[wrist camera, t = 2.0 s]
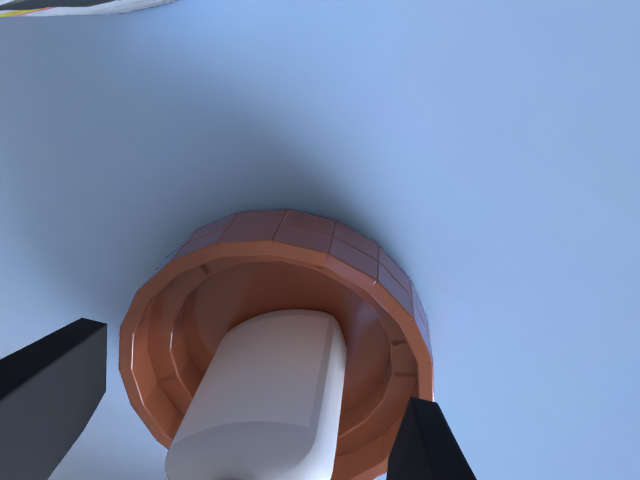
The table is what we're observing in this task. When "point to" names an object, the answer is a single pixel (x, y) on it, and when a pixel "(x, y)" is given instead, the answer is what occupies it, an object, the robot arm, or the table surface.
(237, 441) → the eye dropper bottle
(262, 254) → the bowl
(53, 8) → the ink box
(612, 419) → the table surface
